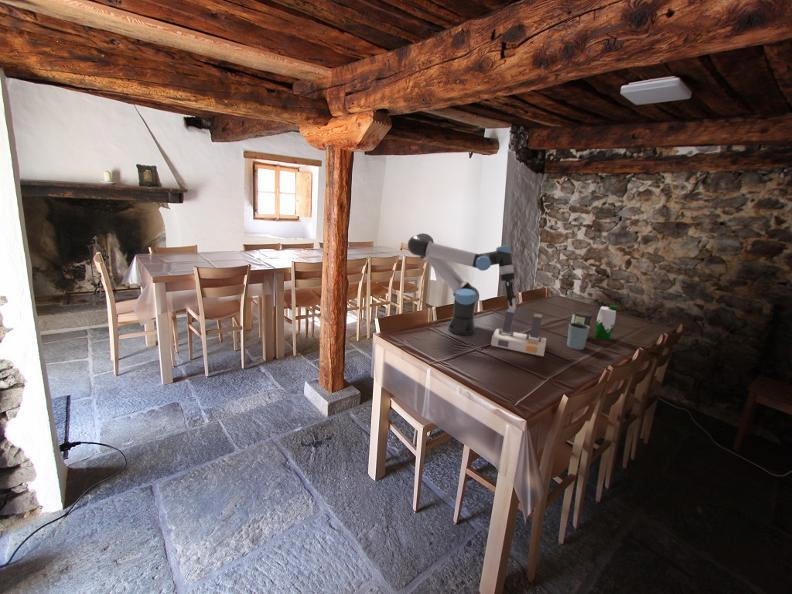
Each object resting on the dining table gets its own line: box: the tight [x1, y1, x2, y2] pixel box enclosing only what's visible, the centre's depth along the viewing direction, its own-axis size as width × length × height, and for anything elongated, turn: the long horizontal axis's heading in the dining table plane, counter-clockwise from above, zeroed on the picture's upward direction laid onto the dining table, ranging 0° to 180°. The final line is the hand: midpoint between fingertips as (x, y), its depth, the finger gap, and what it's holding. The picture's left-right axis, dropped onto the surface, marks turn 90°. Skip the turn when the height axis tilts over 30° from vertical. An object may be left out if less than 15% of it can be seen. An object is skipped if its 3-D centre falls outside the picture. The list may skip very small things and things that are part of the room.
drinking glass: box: [566, 322, 591, 351], centre depth 206 cm, size 10×10×12 cm
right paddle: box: [529, 313, 543, 338], centre depth 200 cm, size 4×2×13 cm, turn 67°
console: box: [490, 328, 547, 357], centre depth 201 cm, size 26×14×7 cm, turn 67°
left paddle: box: [502, 308, 516, 333], centre depth 205 cm, size 4×2×13 cm, turn 67°
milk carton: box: [594, 304, 618, 342], centre depth 222 cm, size 9×9×20 cm
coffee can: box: [570, 310, 593, 339], centre depth 223 cm, size 10×10×14 cm
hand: (513, 310), depth 215 cm, fingers open, 13 cm apart
